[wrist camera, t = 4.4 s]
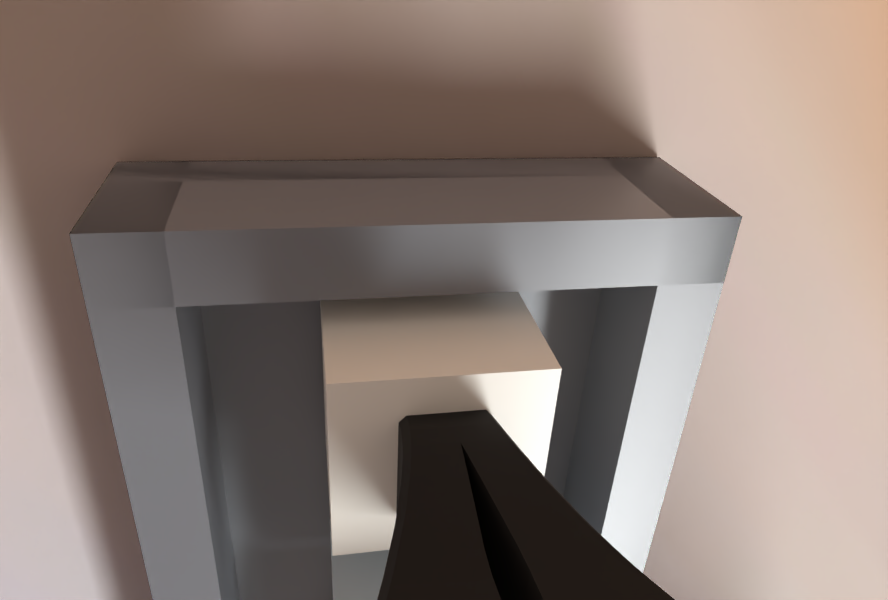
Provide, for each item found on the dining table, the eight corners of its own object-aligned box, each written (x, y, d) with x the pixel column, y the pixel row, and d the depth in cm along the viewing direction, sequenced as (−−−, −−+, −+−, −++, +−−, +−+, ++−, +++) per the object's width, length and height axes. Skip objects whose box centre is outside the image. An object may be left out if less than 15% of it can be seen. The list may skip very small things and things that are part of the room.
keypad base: (228, 775, 22) (219, 894, 19) (117, 161, 12) (70, 233, 9) (541, 725, 23) (572, 826, 21) (659, 157, 14) (742, 216, 11)
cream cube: (325, 440, 14) (332, 556, 11) (319, 287, 12) (325, 384, 10) (494, 427, 14) (535, 533, 12) (511, 279, 13) (561, 369, 10)
